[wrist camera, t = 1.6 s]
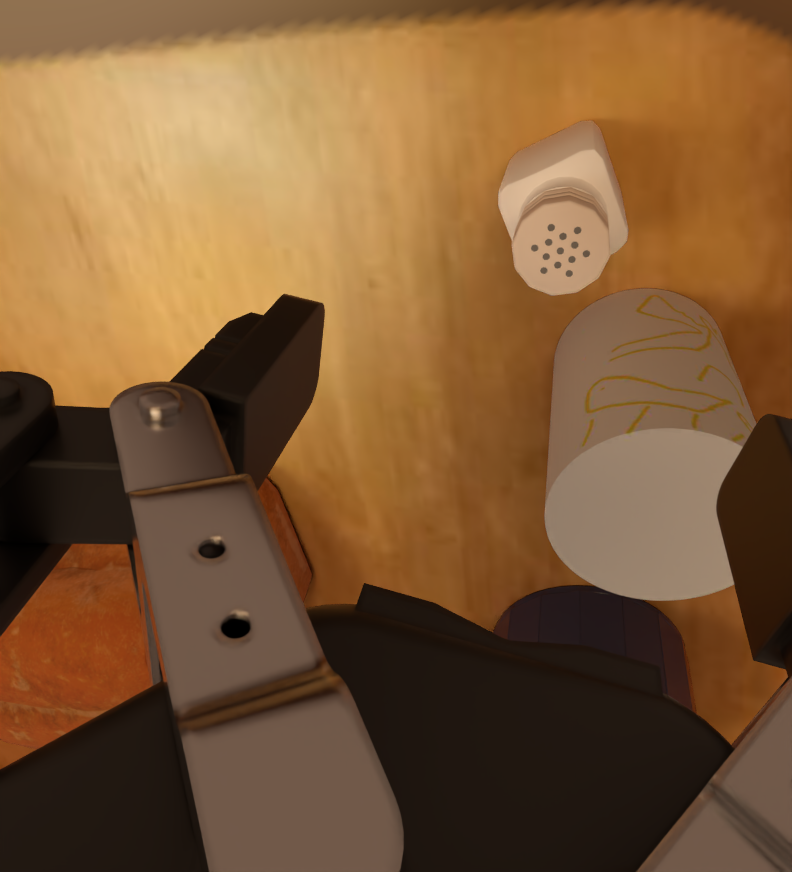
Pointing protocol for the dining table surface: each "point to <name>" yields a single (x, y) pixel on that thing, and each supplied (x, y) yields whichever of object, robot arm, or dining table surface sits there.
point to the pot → (603, 630)
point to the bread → (91, 638)
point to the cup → (643, 446)
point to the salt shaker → (563, 210)
